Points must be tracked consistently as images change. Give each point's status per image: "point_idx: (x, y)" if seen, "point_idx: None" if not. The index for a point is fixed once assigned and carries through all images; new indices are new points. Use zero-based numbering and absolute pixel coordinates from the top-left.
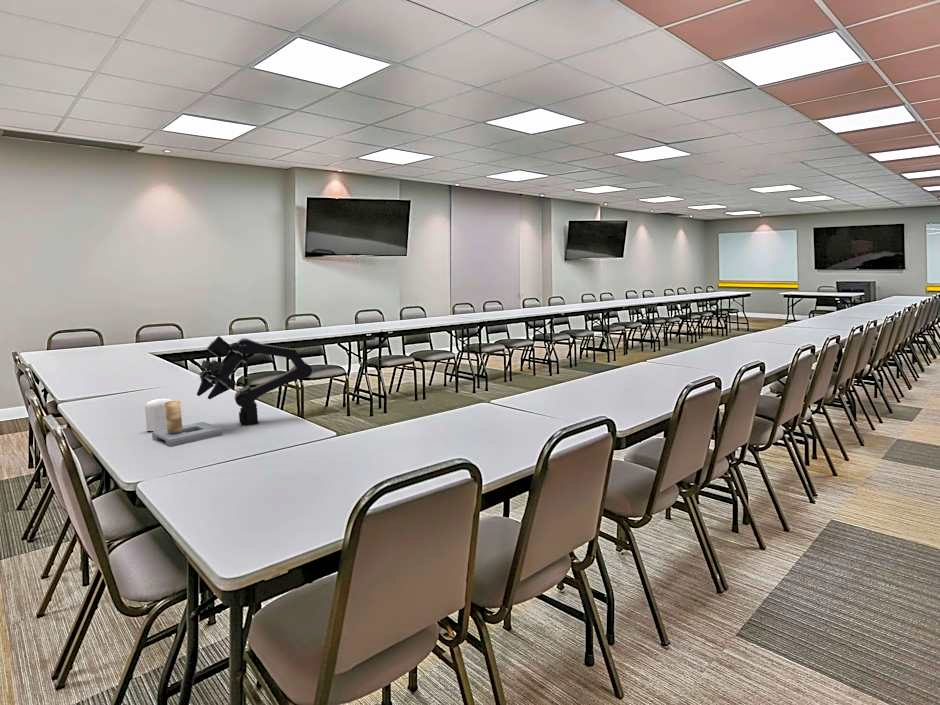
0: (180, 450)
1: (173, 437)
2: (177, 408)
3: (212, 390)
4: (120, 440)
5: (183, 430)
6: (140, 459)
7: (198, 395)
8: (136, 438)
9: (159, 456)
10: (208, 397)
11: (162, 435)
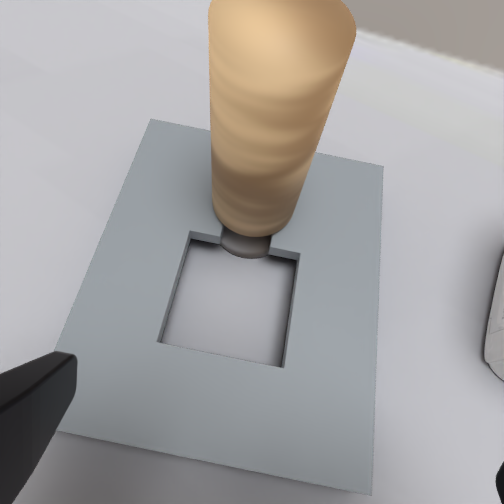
0: (56, 128)
1: (170, 146)
2: (209, 69)
3: None
4: (455, 122)
5: (294, 284)
6: (119, 22)
7: (500, 472)
8: (435, 162)
9: (78, 58)
10: (48, 359)
11: None
